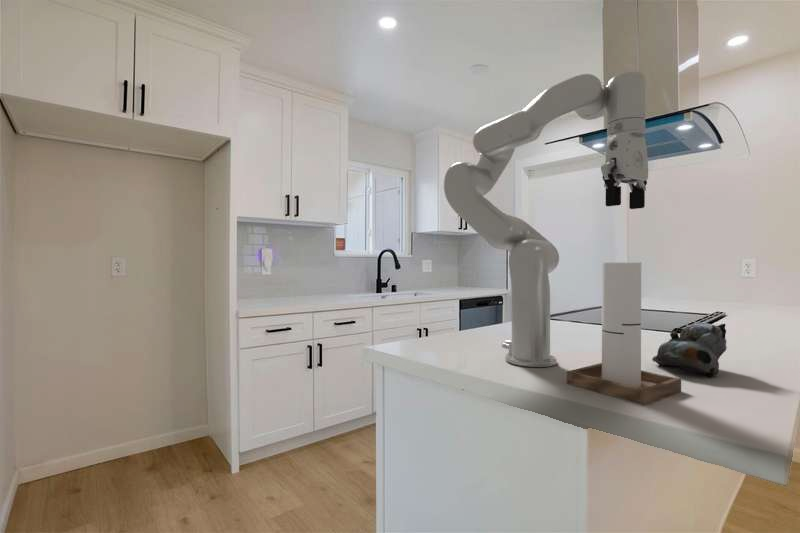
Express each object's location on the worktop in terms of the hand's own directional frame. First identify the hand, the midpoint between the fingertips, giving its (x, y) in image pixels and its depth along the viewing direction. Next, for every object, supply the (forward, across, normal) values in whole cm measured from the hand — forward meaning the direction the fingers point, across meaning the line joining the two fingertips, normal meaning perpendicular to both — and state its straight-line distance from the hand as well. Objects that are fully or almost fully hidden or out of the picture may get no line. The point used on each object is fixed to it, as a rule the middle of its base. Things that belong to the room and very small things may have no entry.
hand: (625, 207), depth 92 cm
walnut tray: (+38, -9, -4) cm, 40 cm away
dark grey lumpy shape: (+38, +17, -6) cm, 42 cm away
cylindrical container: (+38, -9, -4) cm, 39 cm away
